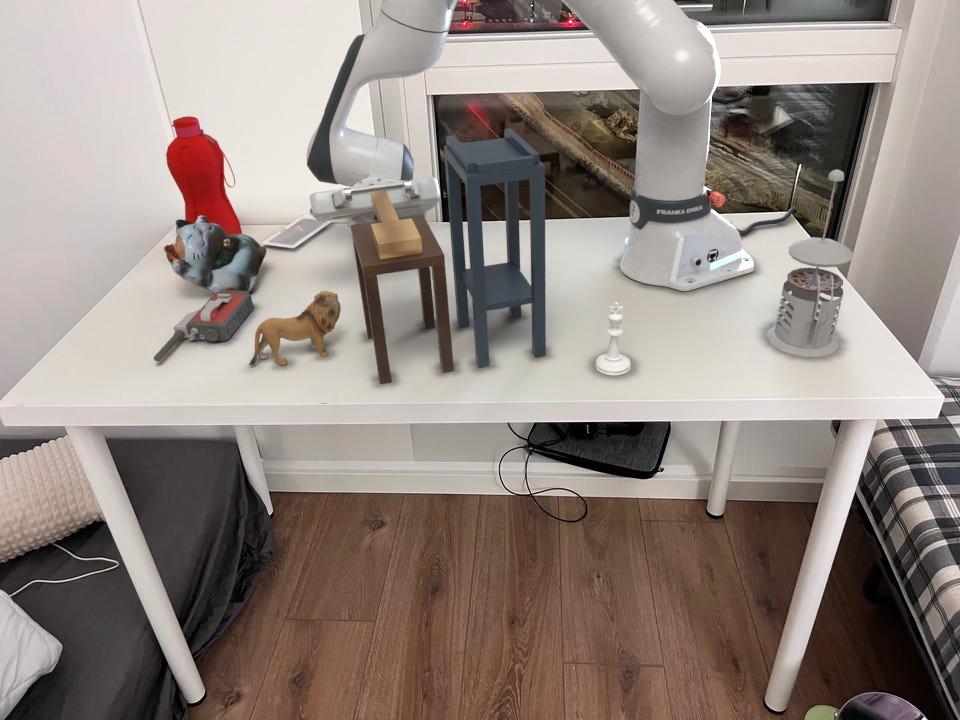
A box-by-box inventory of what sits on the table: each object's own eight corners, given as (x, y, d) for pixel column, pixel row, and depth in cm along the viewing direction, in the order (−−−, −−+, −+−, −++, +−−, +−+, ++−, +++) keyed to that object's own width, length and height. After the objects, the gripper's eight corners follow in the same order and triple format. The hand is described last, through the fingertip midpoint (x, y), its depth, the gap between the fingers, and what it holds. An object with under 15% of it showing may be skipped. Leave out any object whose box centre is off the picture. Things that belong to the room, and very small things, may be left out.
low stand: (433, 322, 119) (423, 214, 109) (453, 371, 107) (444, 254, 97) (367, 334, 117) (350, 224, 107) (380, 384, 105) (362, 266, 95)
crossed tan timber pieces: (397, 200, 114) (396, 186, 113) (422, 253, 97) (421, 237, 96) (361, 205, 113) (359, 191, 112) (379, 259, 96) (377, 243, 95)
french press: (831, 323, 112) (869, 158, 99) (849, 366, 103) (894, 189, 89) (762, 320, 114) (790, 157, 100) (773, 362, 104) (806, 188, 91)
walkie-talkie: (210, 303, 128) (151, 367, 111) (203, 279, 126) (142, 341, 109) (259, 304, 127) (207, 369, 110) (253, 280, 124) (199, 343, 108)
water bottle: (243, 256, 144) (211, 123, 131) (186, 258, 144) (149, 126, 131) (256, 236, 152) (227, 109, 138) (202, 238, 152) (168, 112, 139)
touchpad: (336, 224, 155) (334, 214, 154) (294, 253, 144) (292, 243, 143) (304, 220, 158) (302, 210, 157) (260, 248, 146) (258, 238, 145)
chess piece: (630, 377, 103) (634, 312, 98) (593, 374, 104) (596, 310, 99) (631, 357, 107) (635, 295, 102) (596, 355, 108) (598, 293, 103)
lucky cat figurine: (247, 303, 127) (187, 244, 119) (199, 320, 133) (138, 264, 124) (278, 244, 136) (224, 186, 128) (232, 262, 142) (177, 207, 134)
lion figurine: (341, 334, 117) (332, 282, 112) (352, 349, 113) (343, 296, 108) (246, 360, 112) (232, 307, 107) (253, 377, 108) (240, 323, 103)
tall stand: (518, 313, 120) (513, 127, 104) (545, 356, 109) (545, 155, 93) (457, 323, 118) (443, 136, 102) (478, 368, 107) (466, 166, 91)
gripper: (306, 195, 124) (303, 177, 110) (429, 179, 127) (440, 159, 114) (313, 233, 124) (311, 220, 110) (435, 216, 128) (447, 201, 114)
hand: (378, 189), depth 112 cm, fingers open, 8 cm apart
